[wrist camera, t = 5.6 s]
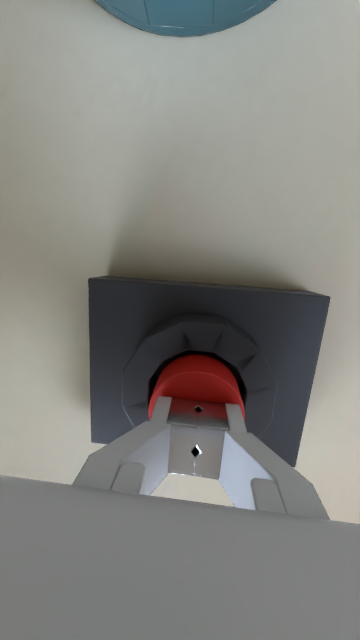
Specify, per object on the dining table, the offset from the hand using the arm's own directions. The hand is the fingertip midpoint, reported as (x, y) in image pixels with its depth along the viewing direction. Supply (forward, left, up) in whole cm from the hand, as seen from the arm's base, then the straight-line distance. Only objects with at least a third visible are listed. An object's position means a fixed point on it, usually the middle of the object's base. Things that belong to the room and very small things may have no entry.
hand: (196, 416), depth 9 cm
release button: (0, 0, -2) cm, 2 cm away
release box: (0, 0, -5) cm, 5 cm away
